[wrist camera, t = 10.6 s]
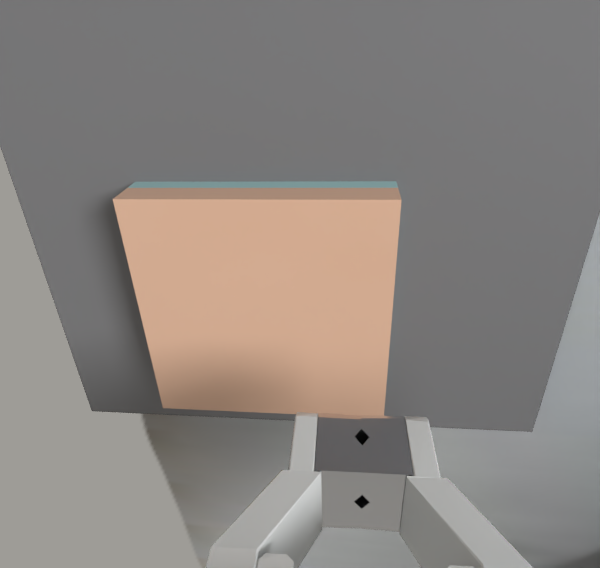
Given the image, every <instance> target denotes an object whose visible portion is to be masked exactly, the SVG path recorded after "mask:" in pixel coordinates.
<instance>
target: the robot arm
mask: <svg viewBox="0 0 600 568" xmlns="http://www.w3.org/2000/svg"><path fill="white" fill-rule="evenodd" d="M322 527H334V528H362V529H373V530H385V531H396V532H400V535H401V537H402V538H403V540H404V541H405V543H406V544H407V546H408V548H409V549H410V551H411V552H412V554H413V555H414V557H415V558H416V560H417V561H418V563H419V565H420V566H421V568H533V567H532V566H531V565H530V564H529V563H528V562H527V561H526V560H525V559H524V558H523V557H522V556H521V555H520V553H519V552H518V551H517V550H516V549H515V548H514V547H513V546H512V545H511V544H510V543H509V542H508V541H507V540H506V539H505V538H504V537H503V536H502V535H501V534H500V532H499V531H498V530H497V529H496V528H495V527H494V526H493V525H492V524H491V523H490V522H489V521H488V520H487V519H486V518H485V517H484V516H483V515H482V514H481V513H480V511H479V510H478V509H477V508H476V507H475V506H474V505H473V504H472V503H471V502H470V501H469V500H468V499H467V498H466V497H465V496H464V495H463V494H462V493H461V492H460V491H459V489H458V488H457V487H456V486H455V485H454V484H453V483H452V482H451V481H450V480H449V479H448V478H441V476H440V472H439V467H438V462H437V457H436V453H435V448H434V443H433V439H432V434H431V429H430V424H429V420H428V419H427V417H407V416H404V417H403V416H372V415H361V416H360V415H344V414H328V413H319V415H318V413H305V412H297V413H296V416H295V422H294V430H293V438H292V446H291V454H290V461H289V469H288V470H281V472H280V473H279V474H278V475H277V476H276V477H275V478H274V479H273V480H272V481H271V482H270V483H269V485H268V486H267V487H266V488H265V489H264V490H263V491H262V492H261V493H260V494H259V495H258V497H257V498H256V499H255V500H254V501H253V502H252V503H251V504H250V505H249V506H248V507H247V508H246V510H245V511H244V512H243V513H242V514H241V515H240V516H239V517H238V518H237V519H236V520H235V521H234V523H233V524H232V525H231V526H230V527H229V528H228V529H227V530H226V531H225V532H224V533H223V535H222V536H221V537H220V538H219V539H218V540H217V541H216V542H215V543H214V544H213V545H212V546H211V549H210V553H209V556H208V560H207V564H206V568H298V567H299V565H300V564H301V562H302V560H303V559H304V557H305V556H306V554H307V553H308V551H309V550H310V548H311V546H312V545H313V543H314V542H315V540H316V539H317V537H318V535H319V534H320V532H321V531H322Z"/></svg>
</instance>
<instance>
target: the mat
mask: <svg viewBox="0 0 600 568" xmlns="http://www.w3.org/2000/svg"><path fill="white" fill-rule="evenodd" d="M0 147H1V150H2V152H3V155H4V158H5V161H6V164H7V167H8V170H9V173H10V175H11V178H12V181H13V184H14V187H15V190H16V193H17V196H18V198H19V201H20V204H21V207H22V210H23V213H24V216H25V219H26V222H27V225H28V227H29V230H30V233H31V236H32V239H33V242H34V245H35V248H36V250H37V254H38V256H39V259H40V262H41V265H42V268H43V271H44V274H45V276H46V279H47V283H48V285H49V288H50V291H51V294H52V297H53V300H54V303H55V305H56V309H57V311H58V314H59V317H60V320H61V323H62V326H63V328H64V332H65V335H66V337H67V340H68V343H69V346H70V349H71V352H72V354H73V358H74V361H75V363H76V366H77V369H78V372H79V375H80V378H81V381H82V384H83V387H84V389H85V392H86V395H87V398H88V401H89V404H90V407H91V410H92V411H102V412H123V413H124V412H125V413H144V414H165V415H187V416H208V417H229V418H250V419H271V420H293V421H295V416H296V414H280V413H258V412H237V411H215V410H193V409H171V408H163V406H162V402H161V398H160V394H159V390H158V385H157V381H156V377H155V373H154V369H153V365H152V360H151V356H150V352H149V348H148V344H147V340H146V336H145V331H144V327H143V323H142V319H141V315H140V311H139V307H138V302H137V298H136V294H135V290H134V286H133V282H132V278H131V273H130V269H129V265H128V261H127V257H126V253H125V248H124V244H123V240H122V236H121V232H120V228H119V224H118V219H117V215H116V211H115V207H114V203H113V199H114V198H115V197H116V196H117V195H119V194H120V193H121V192H123V191H124V190H125V189H127V188H128V187H129V186H130V185H132V184H133V183H134V182H284V181H396V182H397V186H398V189H399V193H400V196H401V213H400V225H399V237H398V249H397V262H396V274H395V286H394V298H393V311H392V323H391V335H390V347H389V360H388V372H387V384H386V396H385V409H384V416H403V417H404V416H407V417H427V419H428V420H429V424H430V427H441V428H462V429H483V430H505V431H526V432H532V431H533V428H534V424H535V421H536V418H537V415H538V411H539V408H540V405H541V402H542V398H543V395H544V392H545V389H546V385H547V382H548V379H549V375H550V372H551V369H552V366H553V362H554V359H555V356H556V353H557V349H558V346H559V343H560V340H561V336H562V333H563V330H564V327H565V323H566V320H567V317H568V314H569V310H570V307H571V304H572V301H573V297H574V294H575V291H576V288H577V284H578V281H579V278H580V275H581V271H582V268H583V265H584V262H585V258H586V255H587V252H588V249H589V245H590V242H591V239H592V235H593V232H594V229H595V226H596V222H597V219H598V216H599V213H600V0H0Z"/></svg>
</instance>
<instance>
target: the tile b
mask: <svg viewBox="0 0 600 568" xmlns="http://www.w3.org/2000/svg"><path fill="white" fill-rule="evenodd" d="M113 203H114V207H115V211H116V215H117V219H118V224H119V228H120V232H121V236H122V240H123V244H124V248H125V253H126V257H127V261H128V265H129V269H130V273H131V278H132V282H133V286H134V290H135V294H136V298H137V302H138V307H139V311H140V315H141V319H142V323H143V327H144V331H145V336H146V340H147V344H148V348H149V352H150V356H151V360H152V365H153V369H154V373H155V377H156V381H157V385H158V390H159V394H160V398H161V402H162V406H163V408H171V409H193V410H215V411H237V412H258V413H280V414H296V413H297V412H305V413H318V415H319V413H328V414H344V415H360V416H361V415H372V416H384V409H385V396H386V384H387V372H388V360H389V347H390V335H391V323H392V311H393V298H394V286H395V274H396V262H397V249H398V237H399V225H400V213H401V196H400V193H399V189H398V186H397V182H396V181H284V182H134V183H133V184H132V185H130V186H129V187H128V188H127V189H125V190H124V191H123V192H121V193H120V194H119V195H117V196H116V197H115V198H114V199H113Z"/></svg>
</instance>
